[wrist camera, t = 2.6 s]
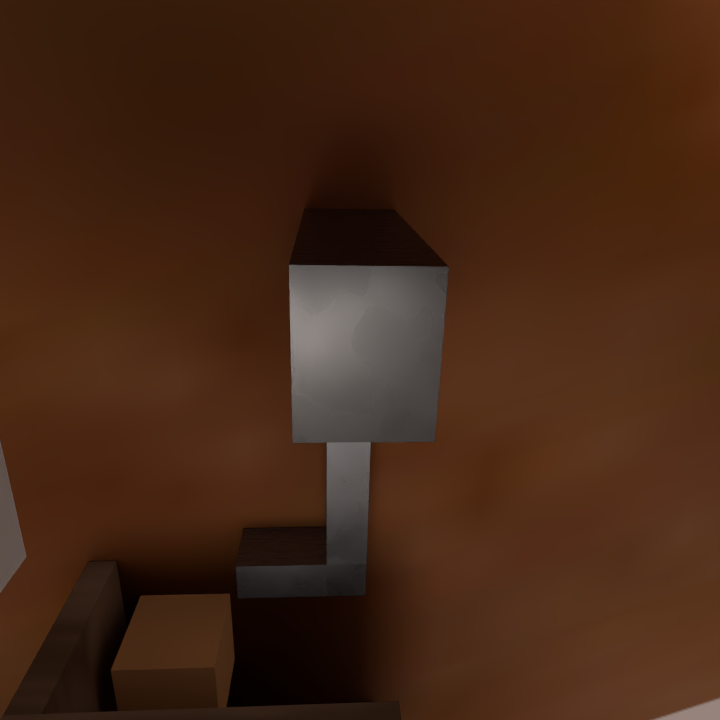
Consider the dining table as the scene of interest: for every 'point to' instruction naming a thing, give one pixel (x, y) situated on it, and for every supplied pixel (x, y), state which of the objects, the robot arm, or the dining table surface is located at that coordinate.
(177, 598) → the block
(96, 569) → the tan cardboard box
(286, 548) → the hook tool
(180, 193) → the dining table surface
